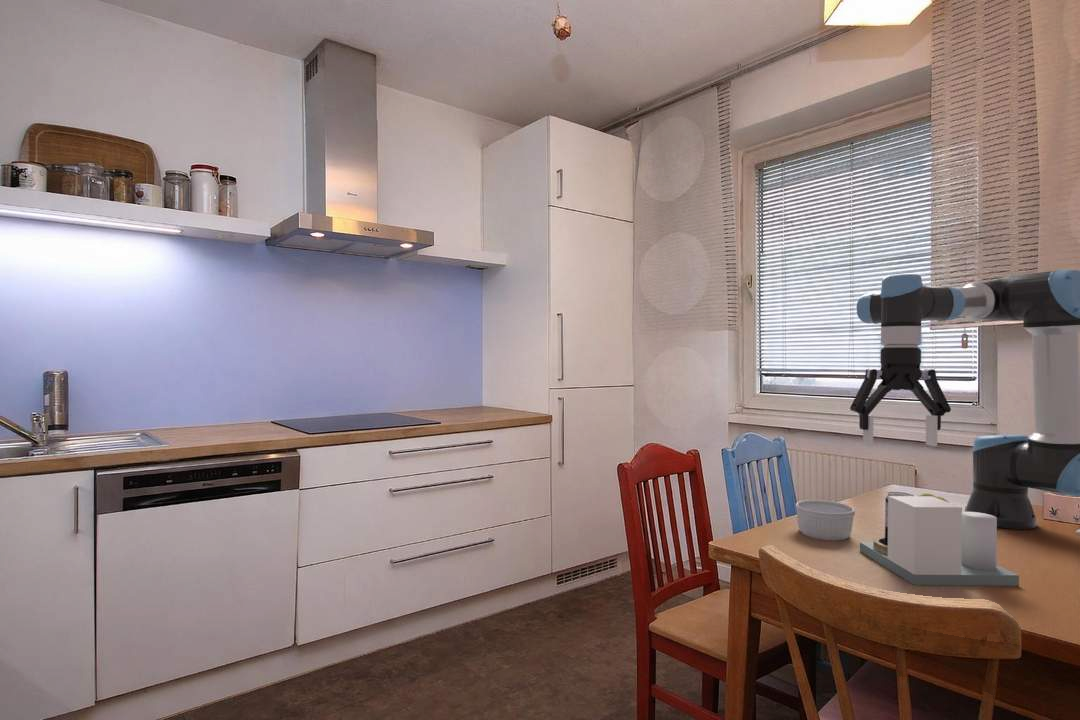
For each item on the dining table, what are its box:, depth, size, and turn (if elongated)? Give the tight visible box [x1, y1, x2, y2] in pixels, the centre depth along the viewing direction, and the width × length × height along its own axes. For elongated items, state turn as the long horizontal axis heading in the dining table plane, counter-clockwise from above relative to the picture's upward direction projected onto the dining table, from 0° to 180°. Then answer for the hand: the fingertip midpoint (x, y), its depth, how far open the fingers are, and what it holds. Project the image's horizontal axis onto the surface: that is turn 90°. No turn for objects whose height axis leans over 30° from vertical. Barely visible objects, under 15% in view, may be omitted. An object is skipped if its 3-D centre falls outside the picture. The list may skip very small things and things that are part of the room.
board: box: [859, 511, 1020, 587], centre depth 126 cm, size 20×20×12 cm
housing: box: [888, 495, 963, 575], centre depth 120 cm, size 9×9×13 cm
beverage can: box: [884, 491, 915, 546], centre depth 130 cm, size 6×6×12 cm
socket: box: [872, 536, 888, 554], centre depth 130 cm, size 10×10×2 cm
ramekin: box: [795, 499, 856, 541], centre depth 149 cm, size 13×13×7 cm
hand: (899, 445), depth 130 cm, fingers open, 13 cm apart
